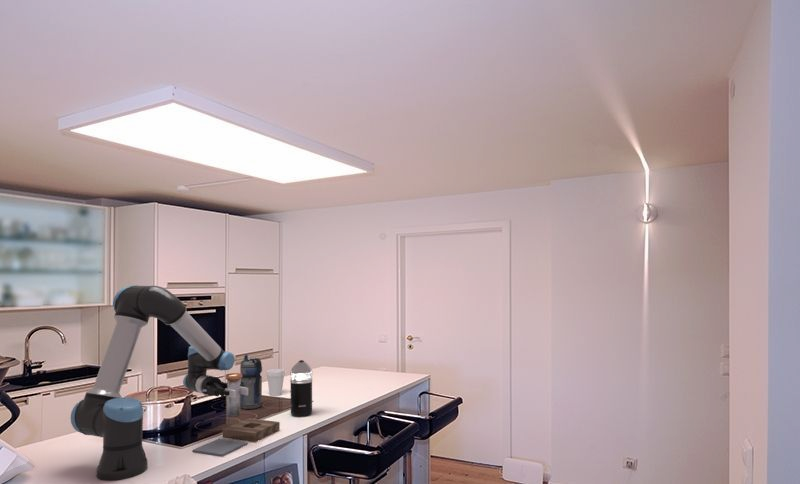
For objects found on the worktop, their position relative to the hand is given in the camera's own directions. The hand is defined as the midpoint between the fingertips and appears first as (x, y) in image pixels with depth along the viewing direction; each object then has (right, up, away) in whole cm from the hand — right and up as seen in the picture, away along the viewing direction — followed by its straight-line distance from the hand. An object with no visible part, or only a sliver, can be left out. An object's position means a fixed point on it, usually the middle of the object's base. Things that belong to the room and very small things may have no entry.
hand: (241, 393), depth 199 cm
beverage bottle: (-11, -23, +54) cm, 60 cm away
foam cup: (-6, -25, +80) cm, 84 cm away
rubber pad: (-7, -20, -4) cm, 21 cm away
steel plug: (-4, -10, +3) cm, 11 cm away
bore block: (0, -20, +12) cm, 24 cm away
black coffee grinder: (+15, -22, +41) cm, 49 cm away
